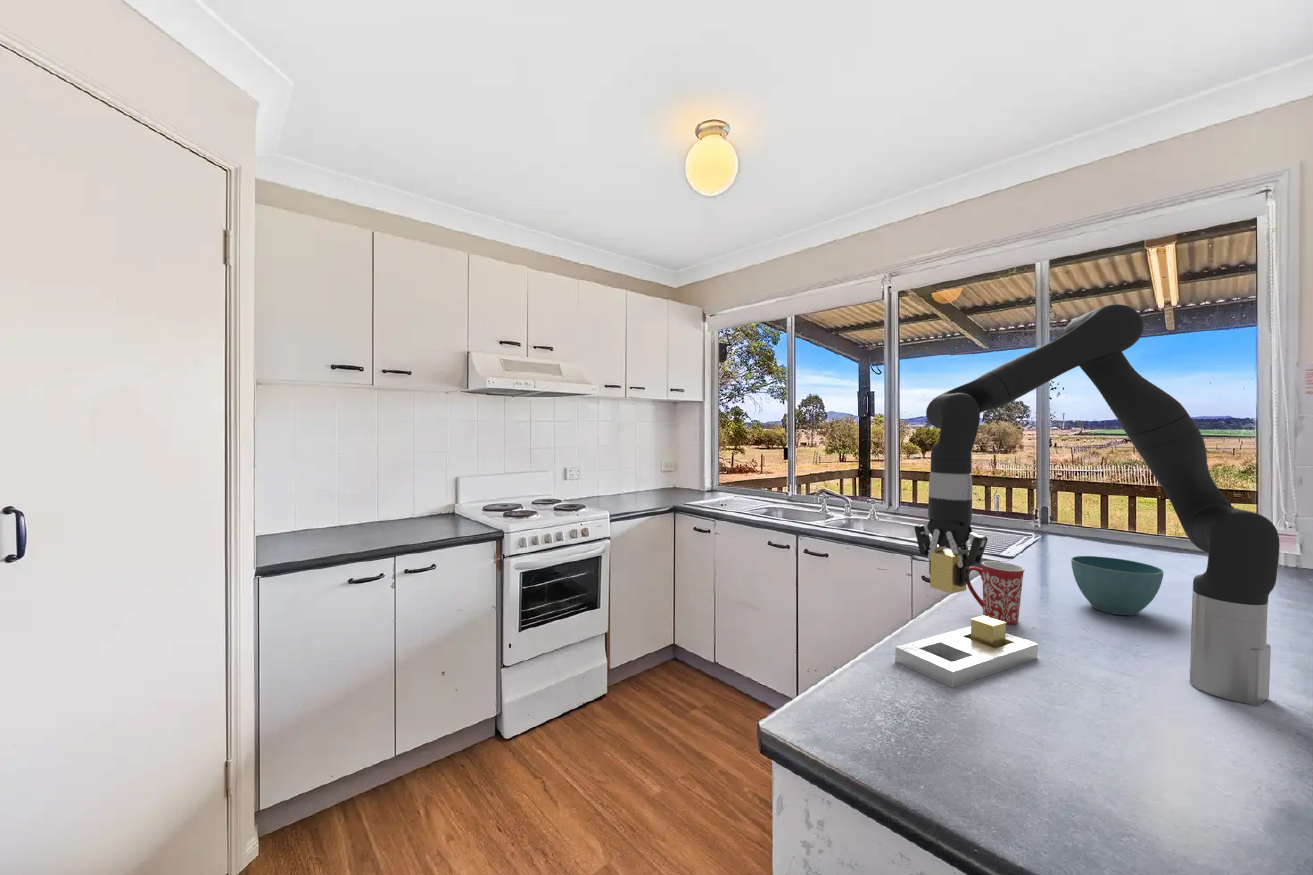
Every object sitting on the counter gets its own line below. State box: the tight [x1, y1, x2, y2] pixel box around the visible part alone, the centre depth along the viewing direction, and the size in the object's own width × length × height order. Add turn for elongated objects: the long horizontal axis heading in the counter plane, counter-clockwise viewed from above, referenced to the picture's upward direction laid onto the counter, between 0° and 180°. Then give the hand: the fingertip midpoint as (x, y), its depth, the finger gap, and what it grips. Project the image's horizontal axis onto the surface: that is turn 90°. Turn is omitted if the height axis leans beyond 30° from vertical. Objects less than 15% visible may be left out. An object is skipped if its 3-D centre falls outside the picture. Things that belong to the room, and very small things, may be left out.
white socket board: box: [894, 625, 1039, 689], centre depth 107 cm, size 28×12×3 cm, turn 118°
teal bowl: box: [1070, 555, 1164, 616], centre depth 138 cm, size 18×18×12 cm
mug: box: [966, 560, 1025, 626], centre depth 132 cm, size 13×9×14 cm
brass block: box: [929, 549, 967, 594], centre depth 104 cm, size 4×4×7 cm
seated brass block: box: [970, 615, 1007, 649], centre depth 111 cm, size 4×4×7 cm
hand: (948, 581), depth 104 cm, fingers closed on brass block, 4 cm apart
